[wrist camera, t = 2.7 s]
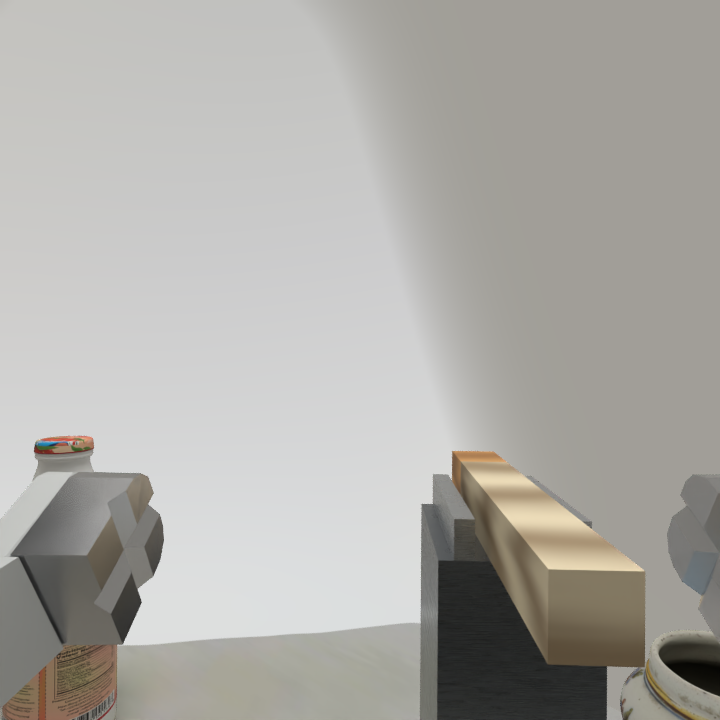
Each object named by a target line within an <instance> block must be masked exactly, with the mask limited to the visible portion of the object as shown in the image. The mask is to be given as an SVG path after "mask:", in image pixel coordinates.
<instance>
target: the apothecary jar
mask: <svg viewBox="0 0 720 720" xmlns="http://www.w3.org/2000/svg"><path fill="white" fill-rule="evenodd" d="M620 702H621V703H620V704H621V705H620V706H621V713H622V717H623V720H720V644H719V642H718V641H717V639H716V637H715V636H714V634H713V632H709V631H700V630H678V631H672V632H668V633H665V634H663V635H661V636H659V637H658V638H657V639H655V640H654V642H653V643H652V646H651V649H650V653H649V659H648V661H647V663H645V667H638V668H637V669H636V670H635V671H633V672H632V673H631V675H630V676H629V677H628V678H627V680H626V682H625V683H624V686H623V688H622V692H621V700H620Z"/></svg>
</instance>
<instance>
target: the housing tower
mask: <svg viewBox="0 0 720 720" xmlns="http://www.w3.org/2000/svg"><path fill="white" fill-rule="evenodd" d="M525 477H526V478H527V479H529V480H530V481H531V482H533V483H534V484H535V485H536V486H538V487H539V488H540V489H541V490H543V491H544V492H545V493H546V494H548V495H549V496H550V497H552V498H553V499H554V500H555V501H557V502H558V503H559V504H560V505H562V506H563V507H564V508H565V509H567V510H568V511H569V512H571V513H572V514H573V515H574V516H576V517H577V518H578V519H579V520H581V521H582V522H583V523H585V524H586V525H587V526H588V527H590V528H591V529H592V522H591V521H590V520H589V519H588V518H586V517H585V516H584V515H582V514H581V513H580V512H578V511H577V510H576V509H574V508H573V507H572V506H570V505H569V504H568V503H566V502H565V501H564V500H562V499H561V498H560V497H558V496H557V495H556V494H554V493H553V492H552V491H550V490H549V489H548V488H546V487H545V486H544V485H542V484H541V483H540V482H539V481H537V480H536V479H534V478H533V477H532V476H525ZM421 531H422V532H421V663H420V720H607V666H581V665H548V664H547V662H546V660H545V658H544V657H543V655H542V653H541V651H540V649H539V648H538V646H537V644H536V642H535V640H534V639H533V637H532V635H531V633H530V631H529V630H528V628H527V626H526V624H525V622H524V621H523V619H522V617H521V615H520V613H519V612H518V610H517V608H516V606H515V604H514V603H513V601H512V599H511V597H510V595H509V594H508V592H507V590H506V588H505V586H504V585H503V583H502V581H501V579H500V577H499V576H498V574H497V572H496V570H495V568H494V567H493V565H492V563H491V561H490V559H489V558H488V556H487V554H486V552H485V550H484V549H483V547H482V545H481V543H480V541H479V540H478V538H477V536H476V534H475V518H474V517H473V515H472V513H471V512H470V510H469V508H468V507H467V505H466V503H465V502H464V500H463V498H462V497H461V495H460V493H459V492H458V490H457V488H456V487H455V485H454V484H453V482H452V480H451V479H450V477H449V475H439V474H436V475H435V474H434V475H433V504H422V530H421Z"/></svg>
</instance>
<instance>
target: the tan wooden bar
mask: <svg viewBox="0 0 720 720" xmlns="http://www.w3.org/2000/svg"><path fill="white" fill-rule="evenodd" d="M452 482H453V484H454V485H455V487H456V488H457V490H458V492H459V493H460V495H461V497H462V498H463V500H464V502H465V503H466V505H467V507H468V508H469V510H470V512H471V513H472V515H473V517H474V518H475V534H476V536H477V538H478V540H479V541H480V543H481V545H482V547H483V549H484V550H485V552H486V554H487V556H488V558H489V559H490V561H491V563H492V565H493V567H494V568H495V570H496V572H497V574H498V576H499V577H500V579H501V581H502V583H503V585H504V586H505V588H506V590H507V592H508V594H509V595H510V597H511V599H512V601H513V603H514V604H515V606H516V608H517V610H518V612H519V613H520V615H521V617H522V619H523V621H524V622H525V624H526V626H527V628H528V630H529V631H530V633H531V635H532V637H533V639H534V640H535V642H536V644H537V646H538V648H539V649H540V651H541V653H542V655H543V657H544V658H545V660H546V662H547V664H548V665H581V666H615V667H617V666H618V667H645V571H644V570H643V569H641V568H640V567H639V566H638V565H636V564H635V563H634V562H633V561H631V560H630V559H629V558H627V557H626V556H625V555H624V554H622V553H621V552H620V551H619V550H617V549H616V548H615V547H614V546H612V545H611V544H610V543H608V542H607V541H606V540H605V539H604V538H602V537H601V536H600V535H598V534H597V533H596V532H595V531H593V530H592V529H591V528H590V527H588V526H587V525H586V524H585V523H583V522H582V521H581V520H579V519H578V518H577V517H576V516H574V515H573V514H572V513H571V512H569V511H568V510H567V509H565V508H564V507H563V506H562V505H560V504H559V503H558V502H557V501H555V500H554V499H553V498H552V497H550V496H549V495H548V494H546V493H545V492H544V491H543V490H541V489H540V488H539V487H538V486H536V485H535V484H534V483H533V482H531V481H530V480H529V479H527V478H526V477H525V476H524V475H522V474H521V473H520V472H519V471H517V470H516V469H515V468H514V467H512V466H511V465H510V464H508V463H507V462H506V461H505V460H503V459H502V458H501V457H500V456H498V455H497V454H496V453H495V452H479V451H477V452H476V451H452Z"/></svg>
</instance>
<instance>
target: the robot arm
mask: <svg viewBox="0 0 720 720" xmlns="http://www.w3.org/2000/svg"><path fill="white" fill-rule="evenodd" d="M152 495H153V490H152V487H151V484H150V481H149V478H148V477H147V476H145V475H143V474H141V473H102V472H78V473H74V472H46V473H44V474H41V475H39V476H37V477H36V478H35V479H34V480H33V482H32V483H31V484H30V485H29V486H28V488H27V489H26V490H25V491H24V492H23V493H22V495H21V496H20V497H19V498H18V499H17V501H16V502H15V503H14V504H13V505H12V506H11V508H10V509H9V510H8V511H7V512H6V514H5V515H4V516H3V517H2V518H1V519H0V708H1V707H3V706H4V705H5V704H6V703H7V702H8V701H9V700H10V699H11V698H12V697H13V696H14V695H15V694H16V693H17V692H18V691H20V690H21V689H22V688H23V687H24V686H25V685H26V684H27V683H28V682H29V681H30V680H31V679H32V678H33V677H34V676H35V675H36V674H38V673H39V672H40V671H41V670H42V669H43V668H44V667H45V666H46V665H47V664H48V663H49V662H50V661H51V660H52V659H53V658H54V657H56V656H57V655H58V654H59V653H60V652H61V651H62V650H63V646H62V645H122V644H123V643H124V640H125V638H126V636H127V634H128V632H129V629H130V627H131V625H132V623H133V620H134V618H135V616H136V613H137V611H138V609H139V607H140V605H141V603H142V602H141V599H140V596H139V593H138V588H139V587H140V586H142V585H143V584H144V583H145V582H147V581H148V580H149V579H150V578H152V577H153V576H154V573H155V571H156V569H157V566H158V564H159V561H160V558H161V553H162V546H163V542H164V536H163V525H162V521H161V517H160V514H159V513H158V512H156V511H155V510H154V509H153V508H152V507H150V506H149V505H148V503H149V501H150V499H151V497H152ZM681 497H682V498H683V500H684V502H685V503H686V505H687V506H686V507H685V508H684V509H682V510H681V511H680V512H678V513H677V514H676V515H674V516H673V517H672V520H671V523H670V527H669V530H668V533H667V537H668V549H669V554H670V557H671V560H672V563H673V566H674V568H675V570H676V571H677V573H678V575H679V577H680V578H681V580H682V582H684V583H685V584H686V585H688V586H689V587H691V588H692V589H693V590H695V591H696V592H698V593H699V594H700V595H701V599H700V604H699V611H700V612H701V614H702V616H703V617H704V619H705V620H706V622H707V624H708V626H709V627H710V629H711V631H712V632H713V634H714V636H715V637H716V639H717V641H718V642H719V644H720V475H692V476H691V477H690V478H689V479H688V480H687V481H686V482H685V484H684V487H683V489H682V492H681Z"/></svg>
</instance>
